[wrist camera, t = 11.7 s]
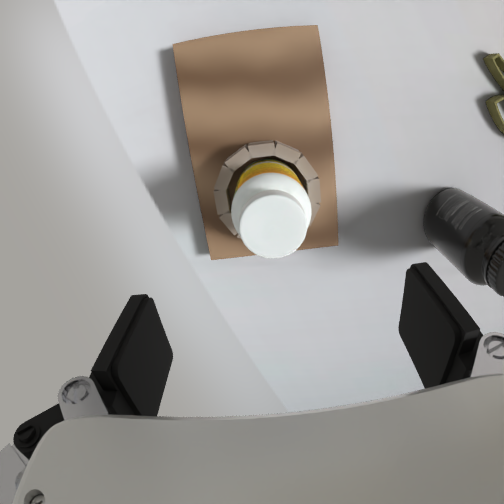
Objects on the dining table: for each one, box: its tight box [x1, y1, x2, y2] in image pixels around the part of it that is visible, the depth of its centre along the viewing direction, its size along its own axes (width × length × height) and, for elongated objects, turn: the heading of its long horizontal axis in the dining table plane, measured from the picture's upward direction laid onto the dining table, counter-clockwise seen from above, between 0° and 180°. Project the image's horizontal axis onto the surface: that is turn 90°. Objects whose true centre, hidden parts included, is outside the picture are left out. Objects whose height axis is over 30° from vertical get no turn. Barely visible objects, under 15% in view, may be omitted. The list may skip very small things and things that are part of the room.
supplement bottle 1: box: [231, 159, 311, 258], centre depth 23 cm, size 5×5×10 cm
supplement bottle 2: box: [424, 188, 504, 296], centre depth 24 cm, size 7×7×12 cm
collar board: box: [173, 25, 338, 260], centre depth 25 cm, size 20×12×4 cm, turn 8°
